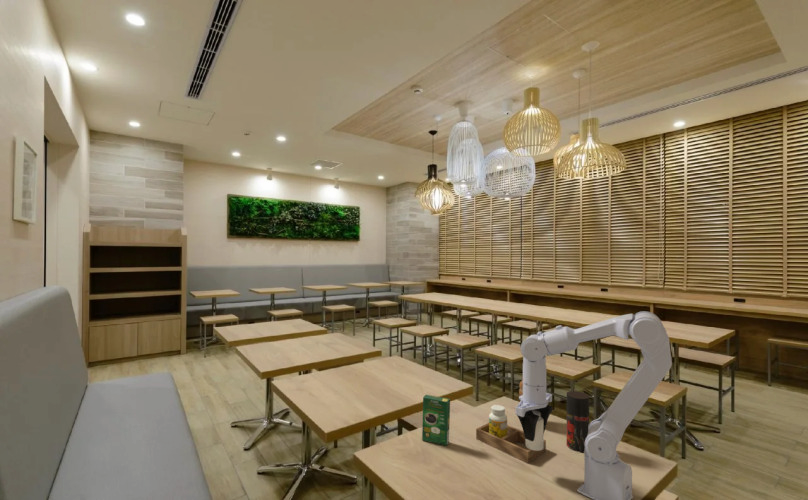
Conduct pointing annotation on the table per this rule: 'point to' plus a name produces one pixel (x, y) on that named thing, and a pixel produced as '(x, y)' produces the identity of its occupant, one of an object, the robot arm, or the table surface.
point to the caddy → (508, 443)
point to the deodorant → (577, 420)
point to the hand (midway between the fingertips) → (534, 436)
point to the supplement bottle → (498, 421)
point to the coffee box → (436, 419)
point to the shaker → (537, 435)
